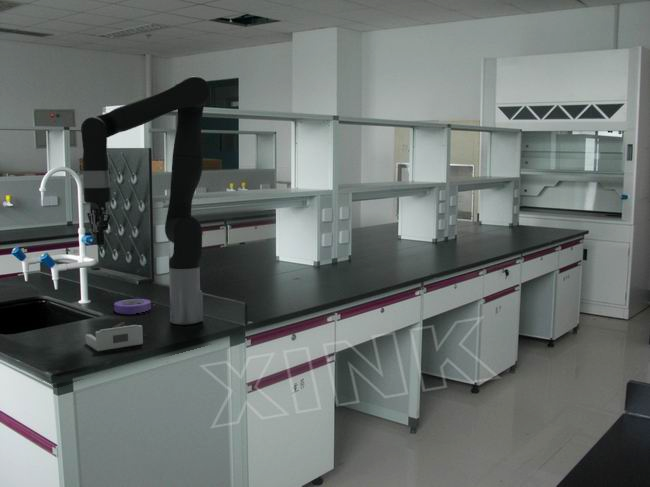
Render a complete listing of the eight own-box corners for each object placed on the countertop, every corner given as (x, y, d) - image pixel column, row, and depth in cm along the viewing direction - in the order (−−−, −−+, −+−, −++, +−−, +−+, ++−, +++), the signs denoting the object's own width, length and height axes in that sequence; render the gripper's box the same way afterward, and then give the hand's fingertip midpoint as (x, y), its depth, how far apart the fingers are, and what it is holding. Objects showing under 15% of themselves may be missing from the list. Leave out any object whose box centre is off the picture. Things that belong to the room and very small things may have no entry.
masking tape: (134, 318, 216) (133, 307, 216) (106, 315, 222) (106, 303, 221) (158, 312, 227) (158, 300, 226) (131, 308, 232) (131, 297, 232)
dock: (129, 336, 192) (129, 318, 192) (143, 343, 185) (142, 325, 184) (85, 343, 185) (85, 324, 184) (97, 351, 177) (97, 331, 177)
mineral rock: (94, 345, 186) (121, 341, 185) (90, 330, 186) (118, 326, 185) (110, 335, 197) (136, 331, 196) (106, 321, 196) (132, 316, 195)
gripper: (117, 186, 196) (120, 245, 198) (101, 185, 206) (104, 241, 208) (91, 187, 191) (95, 247, 193) (76, 186, 202) (79, 243, 204)
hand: (100, 244), depth 201 cm, fingers closed
